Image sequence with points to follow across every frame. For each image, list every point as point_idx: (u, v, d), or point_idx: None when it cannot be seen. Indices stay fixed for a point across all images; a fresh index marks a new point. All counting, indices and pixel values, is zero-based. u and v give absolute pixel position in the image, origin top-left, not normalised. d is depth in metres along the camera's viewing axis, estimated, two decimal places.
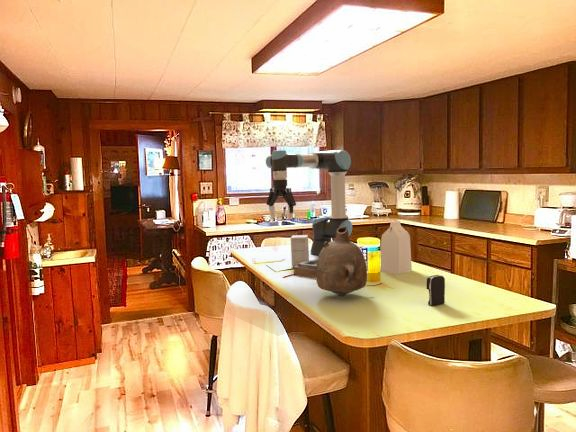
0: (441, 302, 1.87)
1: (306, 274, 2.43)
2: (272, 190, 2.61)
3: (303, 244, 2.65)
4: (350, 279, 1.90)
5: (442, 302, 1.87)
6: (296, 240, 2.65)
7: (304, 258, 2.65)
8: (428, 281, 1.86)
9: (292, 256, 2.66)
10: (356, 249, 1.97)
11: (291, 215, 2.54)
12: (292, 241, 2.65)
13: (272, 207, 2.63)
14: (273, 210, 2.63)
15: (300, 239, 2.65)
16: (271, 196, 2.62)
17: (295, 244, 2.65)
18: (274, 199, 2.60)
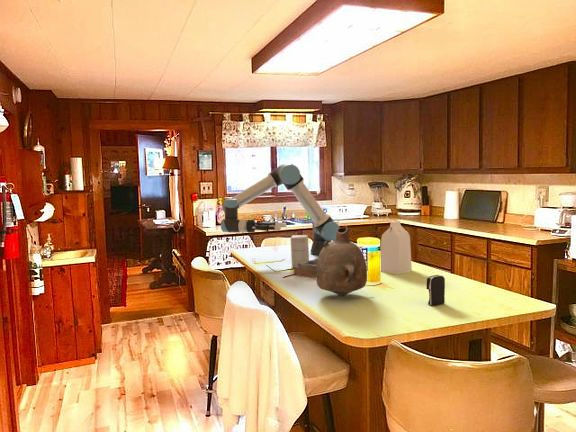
0: (441, 302, 1.87)
1: (306, 274, 2.43)
2: None
3: (303, 244, 2.65)
4: (350, 279, 1.90)
5: (442, 302, 1.87)
6: (296, 240, 2.65)
7: (304, 258, 2.65)
8: (428, 281, 1.86)
9: (292, 256, 2.66)
10: (356, 249, 1.97)
11: (276, 227, 2.64)
12: (292, 241, 2.65)
13: (276, 225, 2.78)
14: (279, 224, 2.78)
15: (300, 239, 2.65)
16: None
17: (295, 244, 2.65)
18: (268, 226, 2.77)
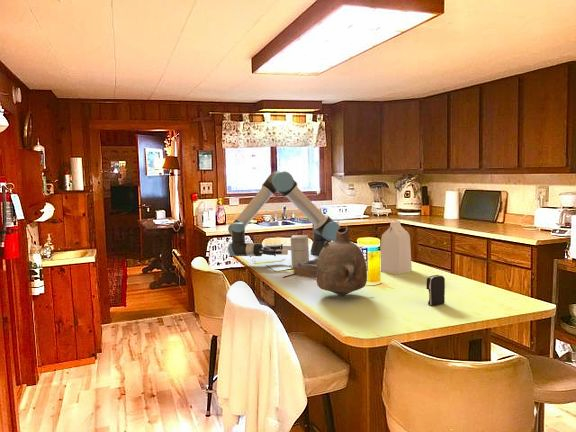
0: (441, 302, 1.87)
1: (306, 274, 2.43)
2: None
3: (303, 244, 2.65)
4: (350, 279, 1.90)
5: (442, 302, 1.87)
6: (296, 240, 2.65)
7: (304, 258, 2.65)
8: (428, 281, 1.86)
9: (292, 256, 2.66)
10: (356, 249, 1.97)
11: (284, 251, 2.64)
12: (292, 241, 2.65)
13: (283, 248, 2.78)
14: (286, 247, 2.78)
15: (300, 239, 2.65)
16: None
17: (295, 244, 2.65)
18: (275, 249, 2.78)
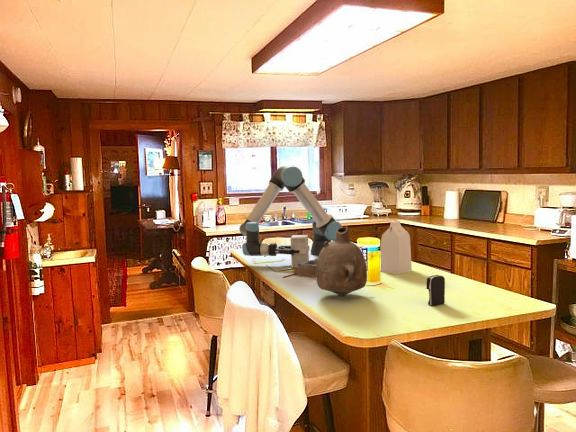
0: (441, 302, 1.87)
1: (306, 274, 2.43)
2: None
3: (303, 244, 2.65)
4: (350, 279, 1.90)
5: (442, 302, 1.87)
6: (296, 240, 2.65)
7: (303, 258, 2.65)
8: (428, 281, 1.86)
9: (292, 256, 2.66)
10: (356, 249, 1.97)
11: (302, 250, 2.64)
12: (292, 241, 2.65)
13: None
14: None
15: (300, 239, 2.65)
16: None
17: (295, 244, 2.65)
18: None
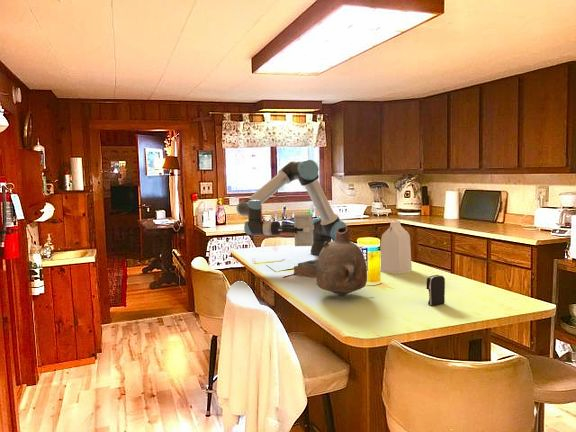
0: (441, 302, 1.87)
1: (306, 274, 2.43)
2: None
3: (307, 222, 2.54)
4: (350, 279, 1.90)
5: (442, 302, 1.87)
6: (299, 218, 2.54)
7: (307, 237, 2.55)
8: (428, 281, 1.86)
9: (295, 235, 2.55)
10: (356, 249, 1.97)
11: (305, 229, 2.53)
12: (295, 219, 2.54)
13: None
14: None
15: (303, 217, 2.54)
16: None
17: (298, 222, 2.54)
18: None
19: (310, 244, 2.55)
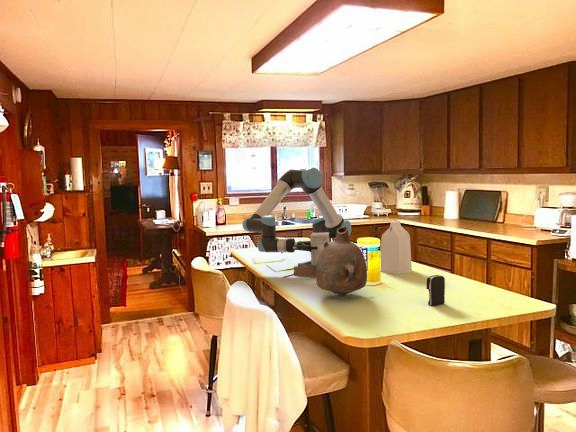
0: (441, 302, 1.87)
1: (306, 274, 2.43)
2: None
3: (324, 242, 2.43)
4: (350, 279, 1.90)
5: (442, 302, 1.87)
6: (316, 238, 2.44)
7: None
8: (428, 281, 1.86)
9: (312, 255, 2.45)
10: (356, 249, 1.97)
11: (320, 247, 2.41)
12: (312, 239, 2.44)
13: None
14: None
15: (321, 237, 2.43)
16: None
17: (315, 242, 2.44)
18: (308, 245, 2.54)
19: None
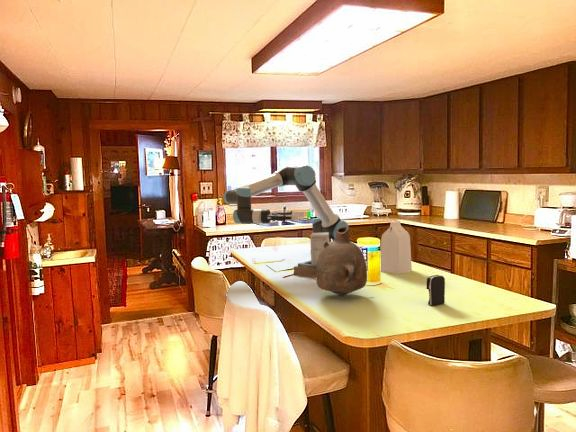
0: (441, 302, 1.87)
1: (306, 274, 2.43)
2: None
3: (324, 242, 2.43)
4: (350, 279, 1.90)
5: (442, 302, 1.87)
6: (316, 238, 2.44)
7: None
8: (428, 281, 1.86)
9: (312, 255, 2.45)
10: (356, 249, 1.97)
11: (294, 216, 2.43)
12: (312, 239, 2.44)
13: (293, 215, 2.57)
14: (296, 214, 2.56)
15: (321, 237, 2.43)
16: None
17: (315, 242, 2.44)
18: None
19: None
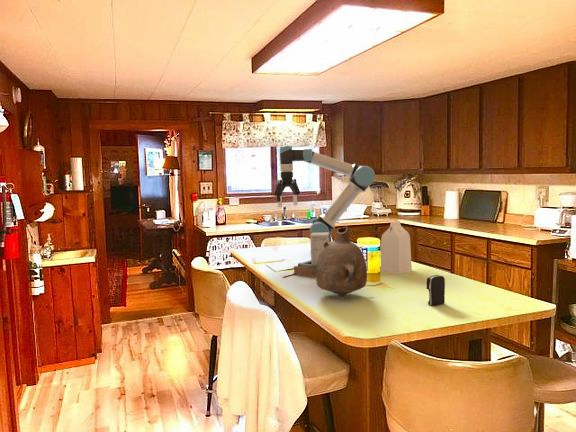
0: (441, 302, 1.87)
1: (306, 274, 2.43)
2: None
3: (324, 242, 2.43)
4: (350, 279, 1.90)
5: (442, 302, 1.87)
6: (316, 238, 2.44)
7: None
8: (428, 281, 1.86)
9: (312, 255, 2.45)
10: (356, 249, 1.97)
11: (279, 204, 2.87)
12: (312, 239, 2.44)
13: (294, 196, 2.97)
14: (295, 198, 2.97)
15: (321, 237, 2.43)
16: (294, 186, 2.97)
17: (315, 242, 2.44)
18: (291, 189, 2.95)
19: None
